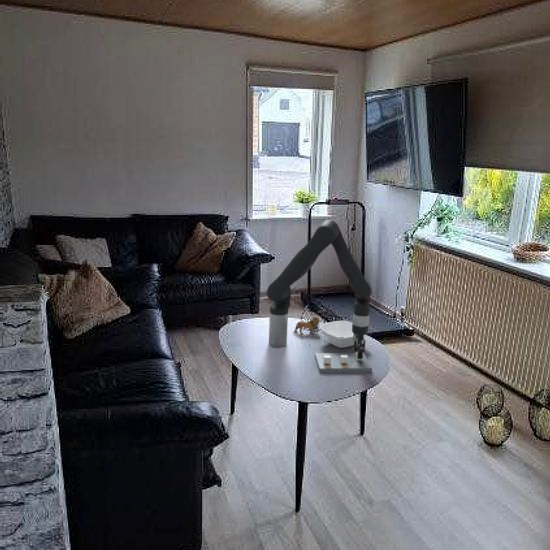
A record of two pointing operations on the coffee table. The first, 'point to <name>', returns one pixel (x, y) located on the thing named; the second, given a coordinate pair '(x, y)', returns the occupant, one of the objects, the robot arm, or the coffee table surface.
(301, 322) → the lion figurine
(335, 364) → the switch unit
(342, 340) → the bowl
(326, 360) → the switch
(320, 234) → the robot arm
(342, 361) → the switch
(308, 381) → the coffee table surface
